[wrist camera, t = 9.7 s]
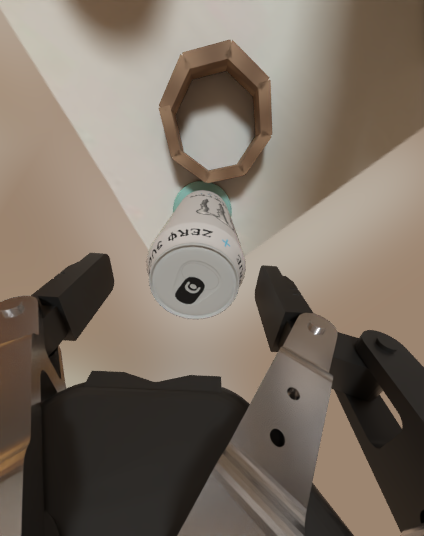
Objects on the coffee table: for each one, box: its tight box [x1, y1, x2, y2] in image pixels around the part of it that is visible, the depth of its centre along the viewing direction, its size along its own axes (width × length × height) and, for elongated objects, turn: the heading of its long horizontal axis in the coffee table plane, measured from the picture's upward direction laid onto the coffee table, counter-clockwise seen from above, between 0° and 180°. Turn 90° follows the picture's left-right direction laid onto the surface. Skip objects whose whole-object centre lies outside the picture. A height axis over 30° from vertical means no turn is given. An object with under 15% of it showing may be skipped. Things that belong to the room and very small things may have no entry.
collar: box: [159, 40, 272, 183], centre depth 18 cm, size 10×10×2 cm
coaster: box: [173, 181, 232, 217], centre depth 24 cm, size 7×7×1 cm
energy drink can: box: [146, 190, 246, 319], centre depth 17 cm, size 6×6×15 cm
